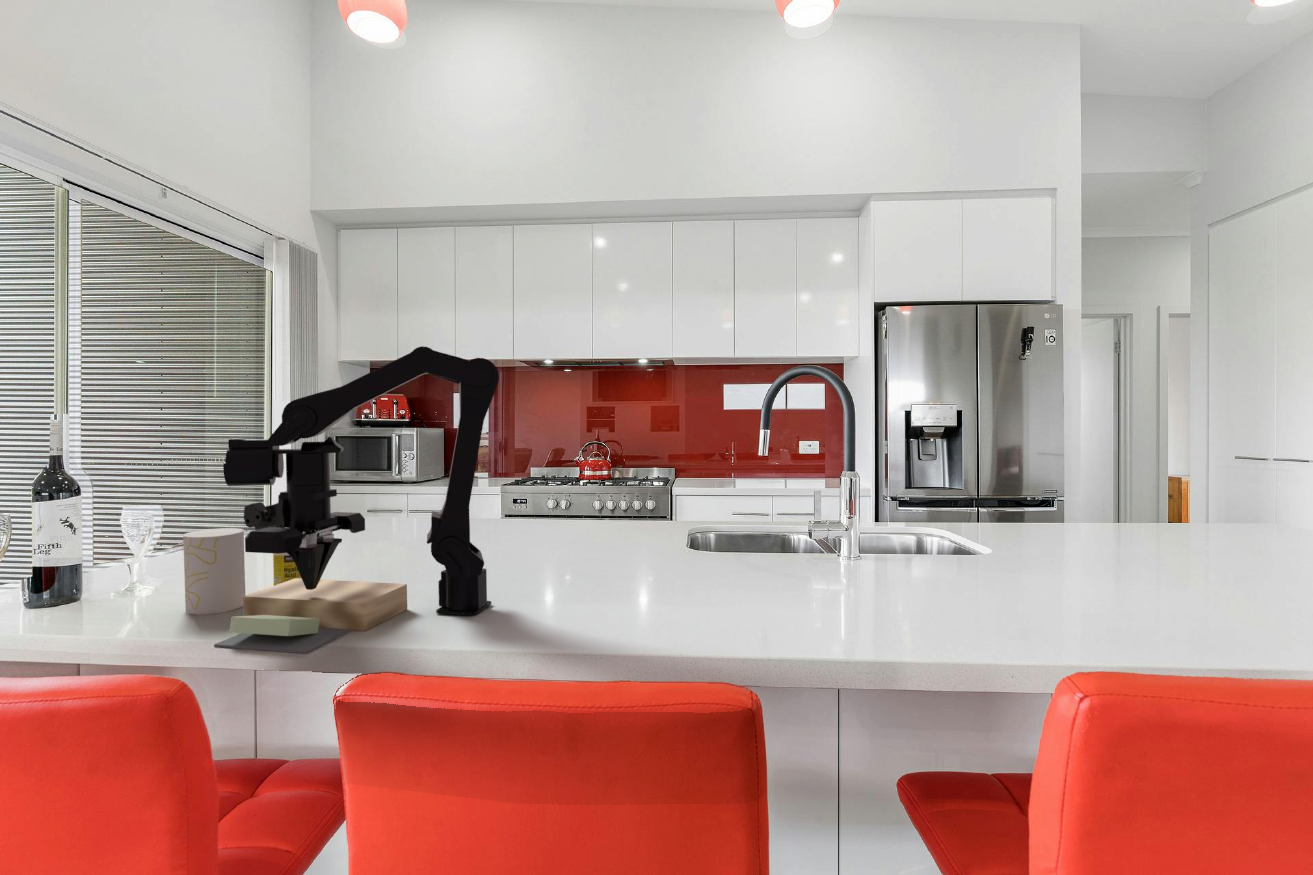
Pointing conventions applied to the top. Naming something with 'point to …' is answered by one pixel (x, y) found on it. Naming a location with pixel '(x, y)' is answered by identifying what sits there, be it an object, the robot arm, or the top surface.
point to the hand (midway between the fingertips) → (311, 589)
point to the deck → (331, 602)
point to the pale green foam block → (274, 625)
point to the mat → (283, 641)
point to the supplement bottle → (284, 568)
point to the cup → (214, 570)
